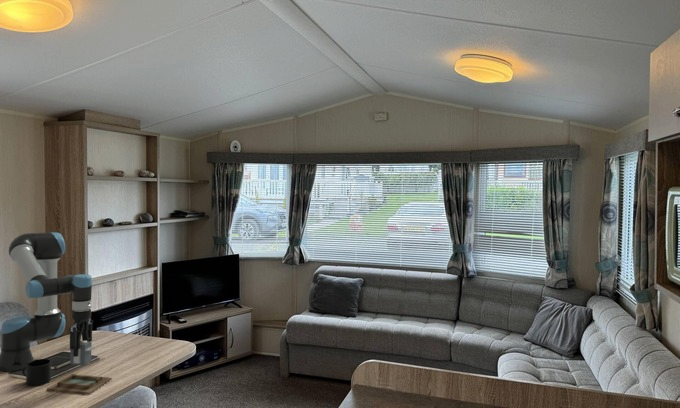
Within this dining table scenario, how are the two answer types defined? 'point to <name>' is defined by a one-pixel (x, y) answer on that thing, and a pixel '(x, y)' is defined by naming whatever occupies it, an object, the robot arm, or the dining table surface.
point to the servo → (82, 353)
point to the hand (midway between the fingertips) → (80, 360)
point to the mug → (38, 372)
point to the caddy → (79, 384)
